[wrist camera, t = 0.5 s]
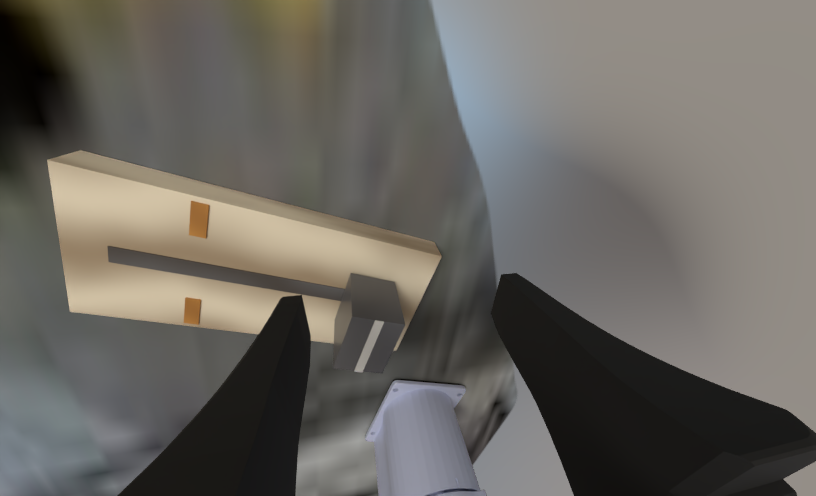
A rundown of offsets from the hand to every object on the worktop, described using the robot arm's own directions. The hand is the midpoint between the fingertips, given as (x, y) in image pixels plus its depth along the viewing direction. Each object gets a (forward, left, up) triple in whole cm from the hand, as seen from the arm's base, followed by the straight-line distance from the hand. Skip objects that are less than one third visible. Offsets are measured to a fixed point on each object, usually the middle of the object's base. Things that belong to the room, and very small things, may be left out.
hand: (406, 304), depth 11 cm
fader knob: (-6, -1, -8) cm, 10 cm away
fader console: (-6, +5, -10) cm, 13 cm away
